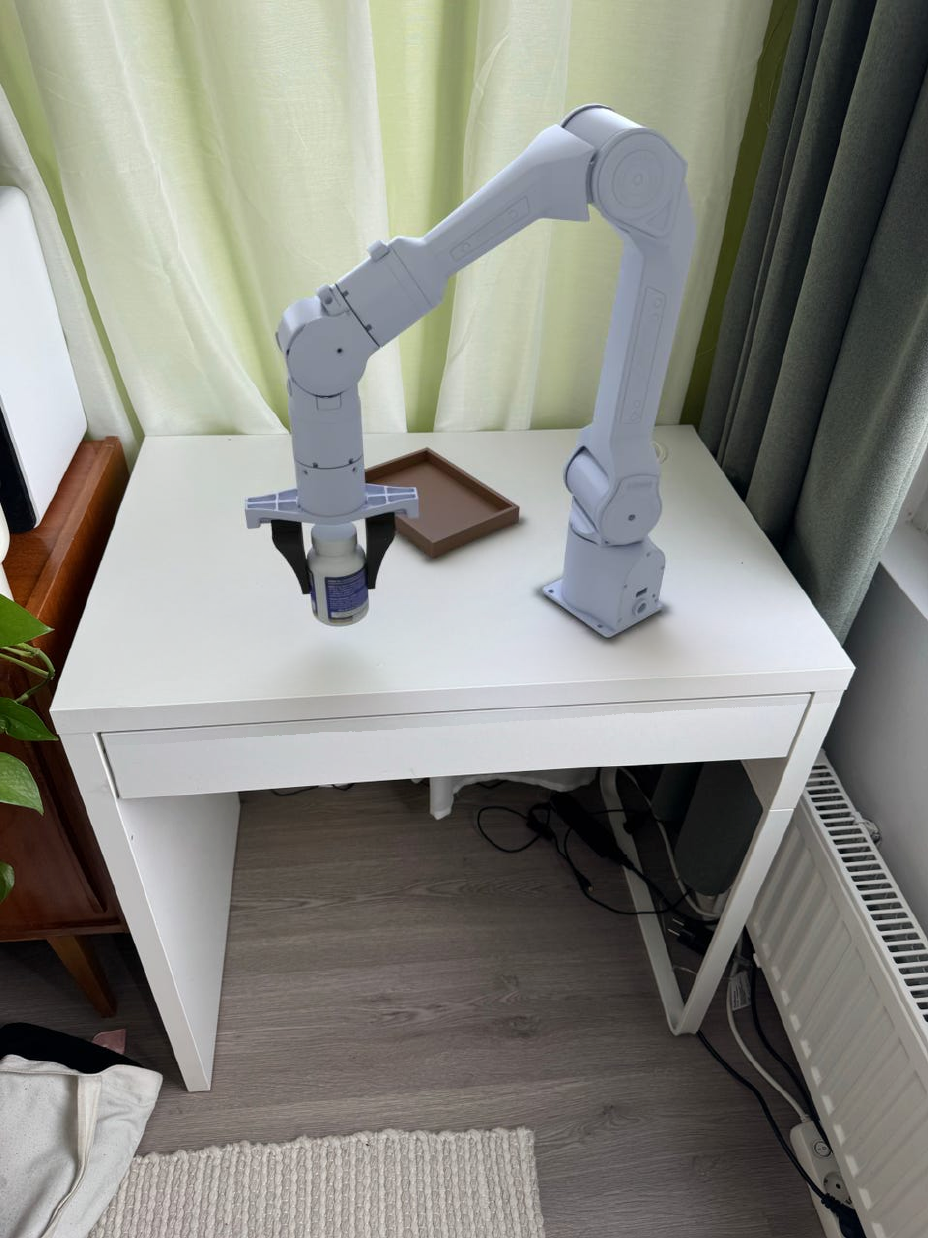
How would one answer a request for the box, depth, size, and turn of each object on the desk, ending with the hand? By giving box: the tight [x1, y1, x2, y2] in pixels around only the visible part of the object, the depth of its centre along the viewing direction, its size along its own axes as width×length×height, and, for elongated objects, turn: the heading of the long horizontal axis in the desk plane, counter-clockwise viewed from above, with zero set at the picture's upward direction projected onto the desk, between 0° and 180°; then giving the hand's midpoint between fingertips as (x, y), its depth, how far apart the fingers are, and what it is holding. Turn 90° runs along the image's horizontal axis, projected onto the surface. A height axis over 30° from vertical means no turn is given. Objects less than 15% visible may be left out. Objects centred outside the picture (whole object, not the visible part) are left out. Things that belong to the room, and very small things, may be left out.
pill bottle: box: [306, 522, 370, 628], centre depth 83 cm, size 5×5×9 cm
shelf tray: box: [364, 446, 521, 559], centre depth 106 cm, size 17×12×2 cm
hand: (339, 585), depth 84 cm, fingers closed on pill bottle, 5 cm apart
